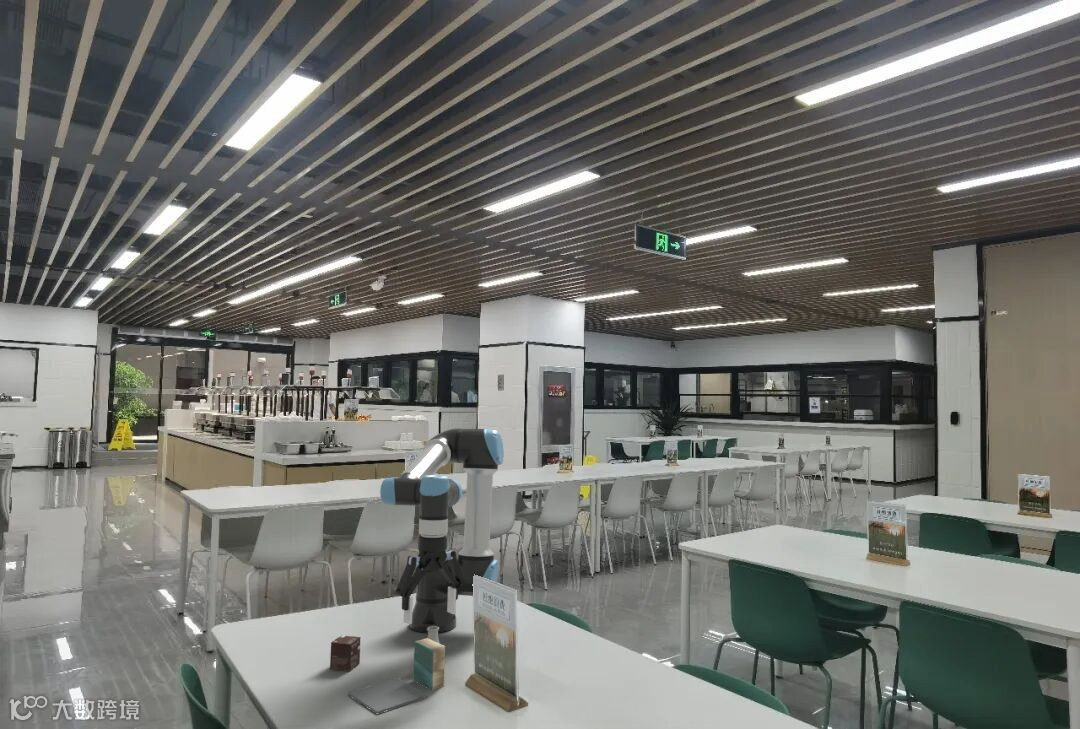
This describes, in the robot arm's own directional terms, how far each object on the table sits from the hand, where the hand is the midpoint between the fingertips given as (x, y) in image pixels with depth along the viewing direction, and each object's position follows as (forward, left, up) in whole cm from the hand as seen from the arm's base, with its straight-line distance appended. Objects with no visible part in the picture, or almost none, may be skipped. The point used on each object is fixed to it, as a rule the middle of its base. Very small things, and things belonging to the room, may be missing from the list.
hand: (430, 617), depth 172 cm
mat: (+12, 0, -17) cm, 20 cm away
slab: (0, 0, -17) cm, 17 cm away
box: (+11, -24, -17) cm, 31 cm away
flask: (-8, -10, -17) cm, 21 cm away
